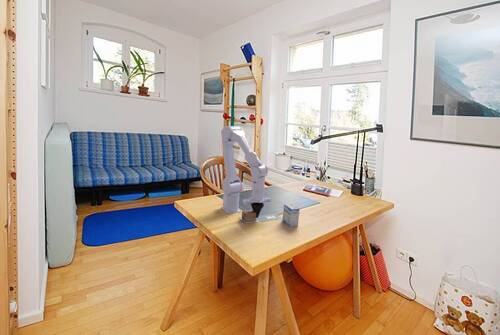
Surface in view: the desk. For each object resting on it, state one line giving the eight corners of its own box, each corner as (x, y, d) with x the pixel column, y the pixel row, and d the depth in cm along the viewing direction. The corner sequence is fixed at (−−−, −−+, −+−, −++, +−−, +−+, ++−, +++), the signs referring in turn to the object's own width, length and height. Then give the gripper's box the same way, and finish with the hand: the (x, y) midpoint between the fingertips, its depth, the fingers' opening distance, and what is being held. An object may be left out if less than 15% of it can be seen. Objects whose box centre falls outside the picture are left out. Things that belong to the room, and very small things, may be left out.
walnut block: (241, 218, 133) (242, 210, 132) (250, 217, 135) (251, 209, 134) (246, 222, 128) (246, 214, 128) (255, 221, 131) (256, 213, 130)
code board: (237, 218, 133) (237, 218, 133) (274, 214, 143) (274, 213, 143) (244, 224, 126) (244, 224, 126) (282, 219, 136) (282, 219, 136)
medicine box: (282, 221, 134) (283, 204, 132) (290, 220, 136) (291, 203, 134) (289, 227, 127) (291, 209, 125) (298, 226, 128) (299, 208, 127)
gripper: (247, 193, 124) (246, 221, 127) (275, 191, 131) (273, 218, 133) (241, 189, 130) (240, 216, 133) (267, 187, 137) (266, 213, 139)
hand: (256, 217), depth 133 cm, fingers closed
